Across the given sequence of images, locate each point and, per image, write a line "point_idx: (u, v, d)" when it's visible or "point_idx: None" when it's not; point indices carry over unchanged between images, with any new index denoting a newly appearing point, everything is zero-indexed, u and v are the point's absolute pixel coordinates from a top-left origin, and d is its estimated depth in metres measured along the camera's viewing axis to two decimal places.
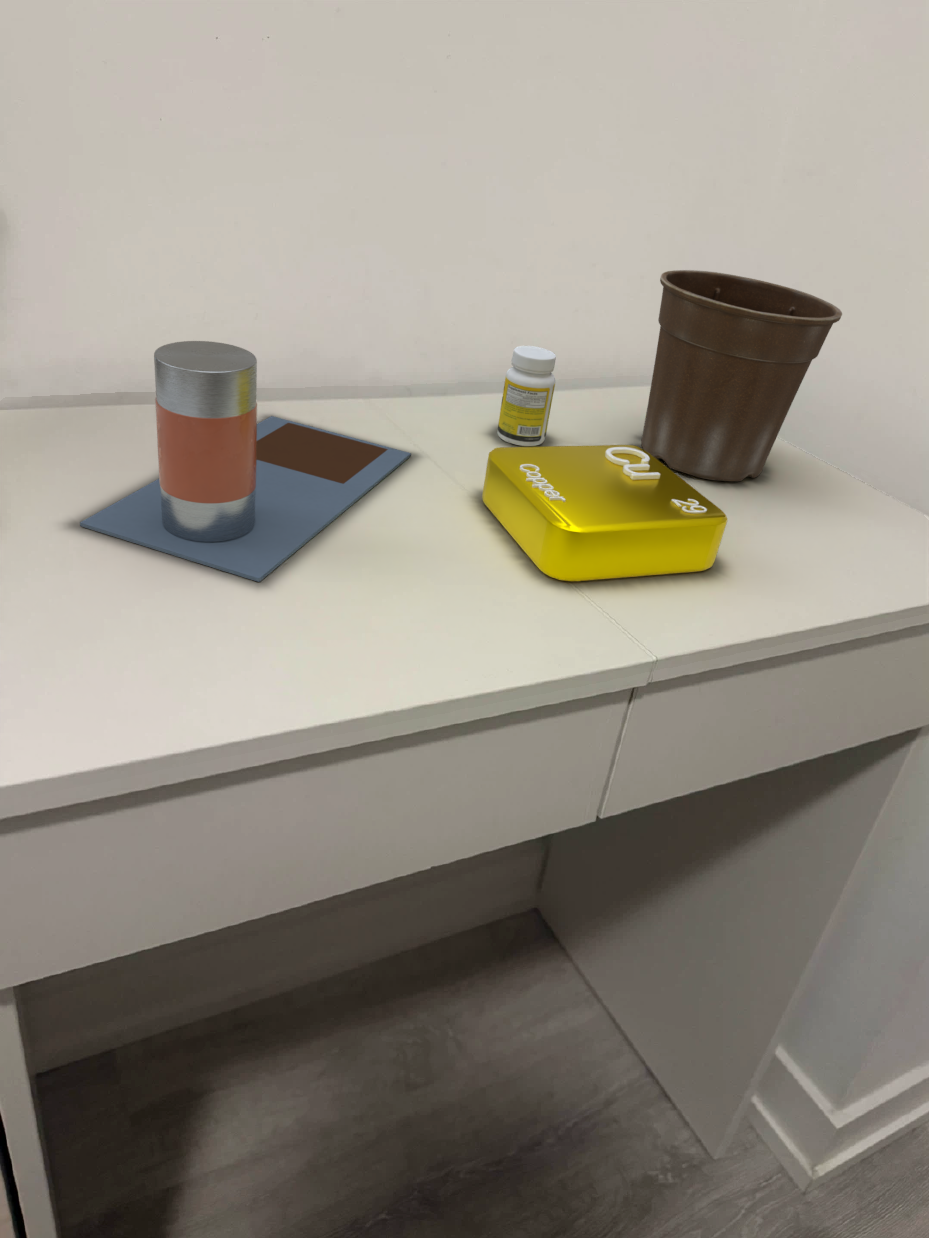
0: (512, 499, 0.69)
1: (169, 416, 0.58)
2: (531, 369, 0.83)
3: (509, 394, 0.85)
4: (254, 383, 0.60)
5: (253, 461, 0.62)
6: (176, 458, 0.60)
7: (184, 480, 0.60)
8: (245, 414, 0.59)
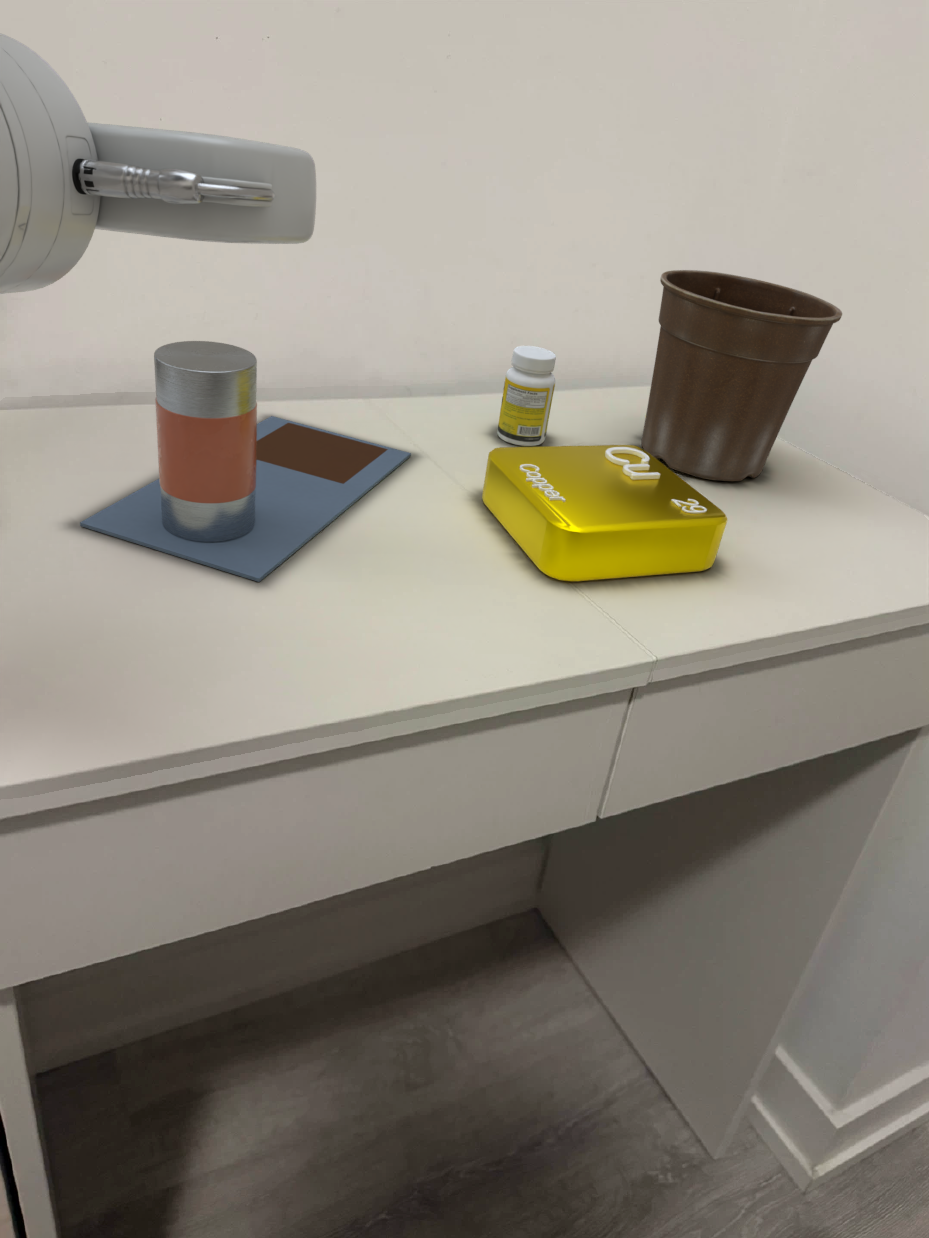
0: (512, 499, 0.69)
1: (169, 416, 0.58)
2: (531, 369, 0.83)
3: (509, 394, 0.85)
4: (254, 383, 0.60)
5: (253, 461, 0.62)
6: (176, 458, 0.60)
7: (184, 480, 0.60)
8: (245, 414, 0.59)
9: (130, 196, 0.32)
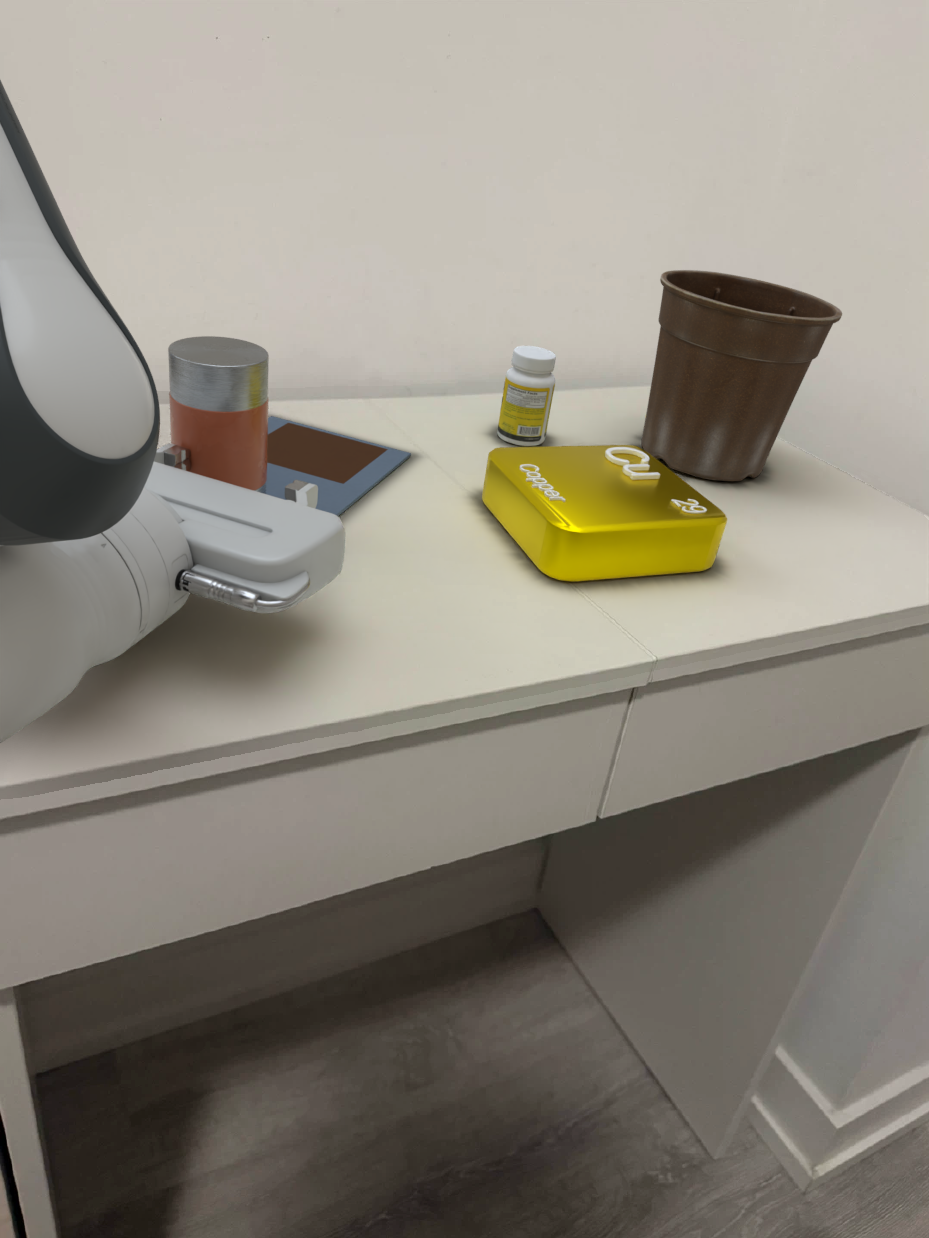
0: (512, 499, 0.69)
1: (183, 409, 0.59)
2: (531, 369, 0.83)
3: (509, 394, 0.85)
4: (266, 377, 0.61)
5: (264, 454, 0.63)
6: None
7: (197, 472, 0.61)
8: (257, 408, 0.61)
9: None
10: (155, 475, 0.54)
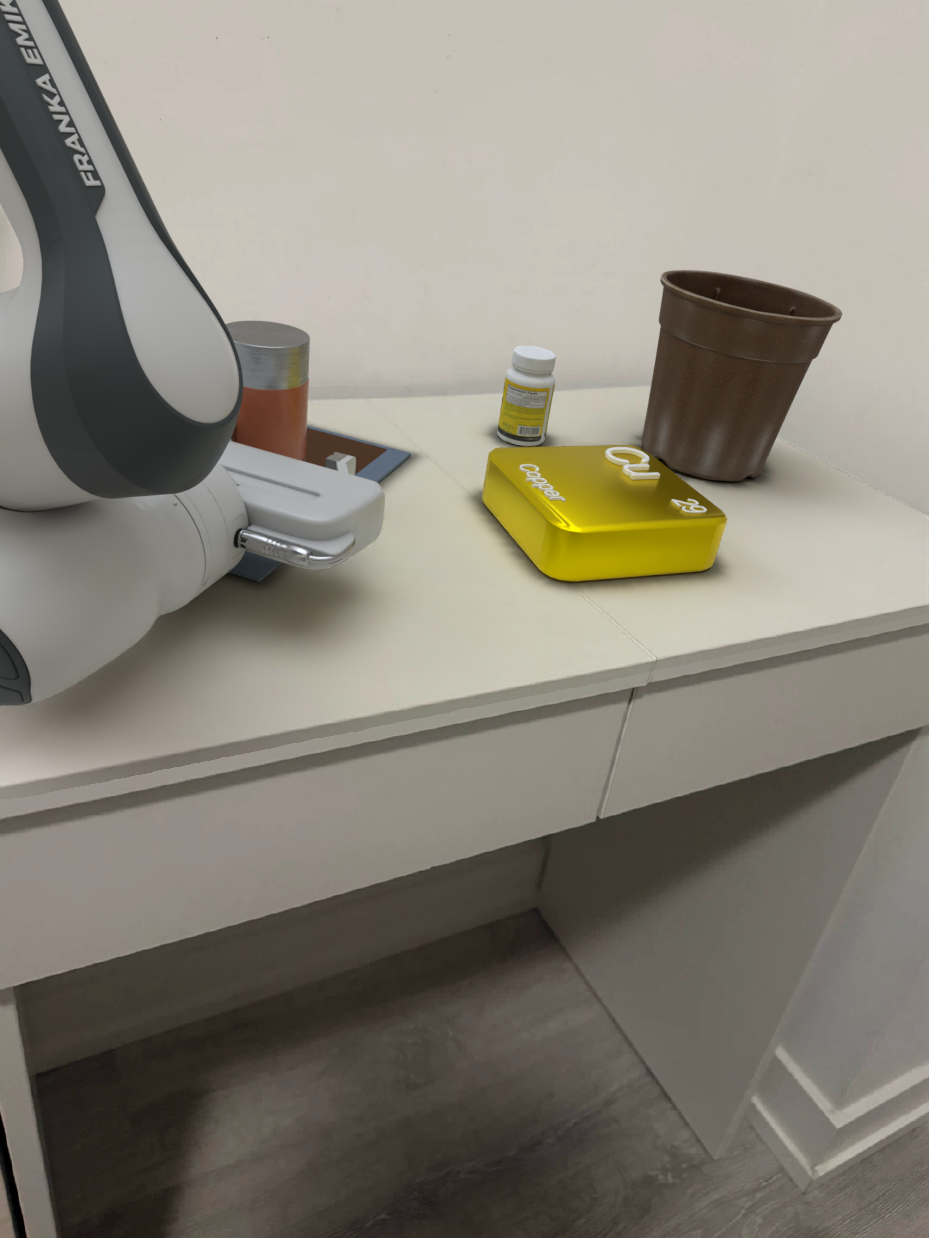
0: (512, 499, 0.69)
1: None
2: (531, 369, 0.83)
3: (509, 394, 0.85)
4: (307, 359, 0.65)
5: (304, 431, 0.68)
6: None
7: None
8: (299, 387, 0.65)
9: (267, 555, 0.52)
10: None
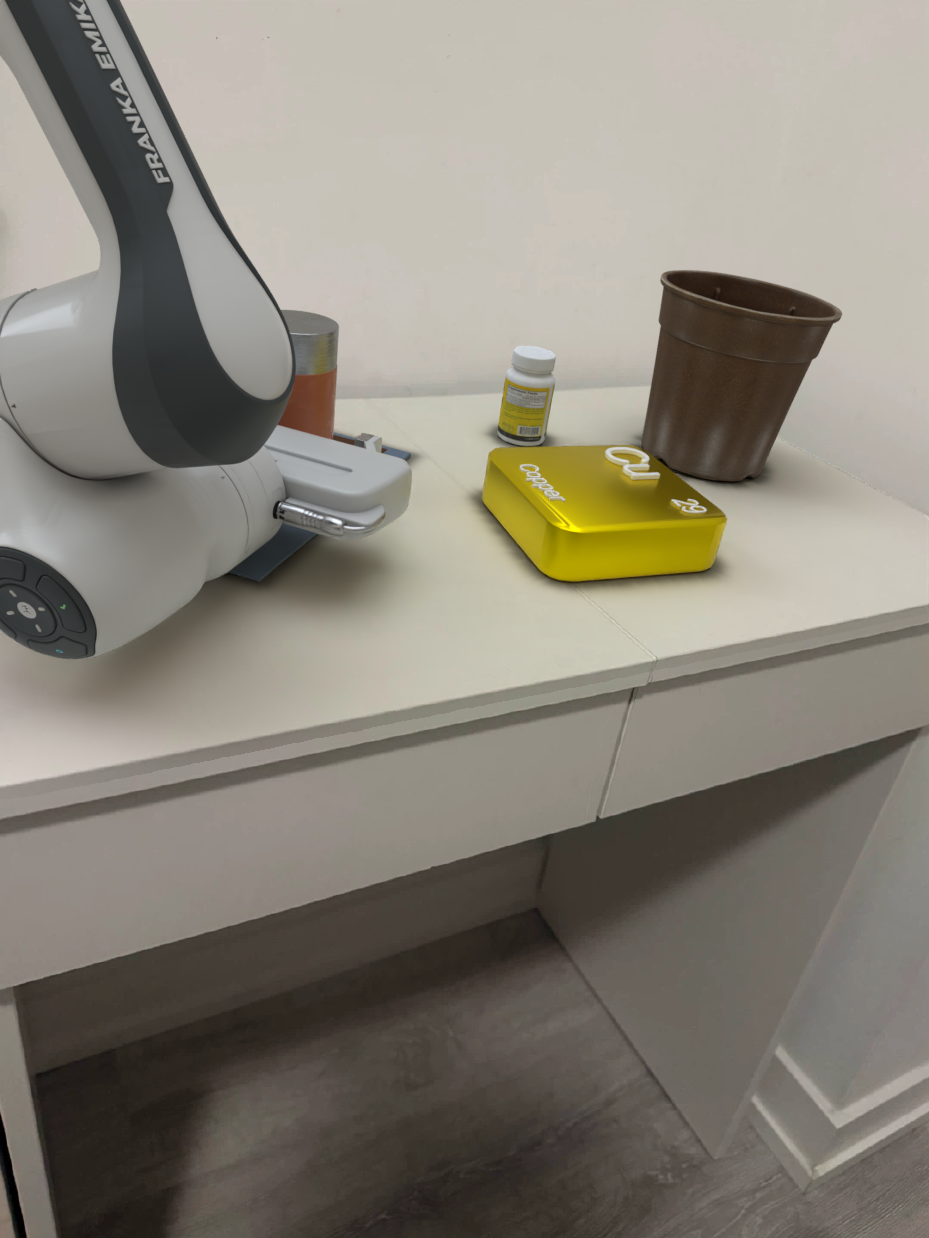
0: (512, 499, 0.69)
1: None
2: (531, 369, 0.83)
3: (509, 394, 0.85)
4: (336, 346, 0.69)
5: (332, 415, 0.71)
6: None
7: None
8: (328, 373, 0.69)
9: (304, 525, 0.56)
10: None
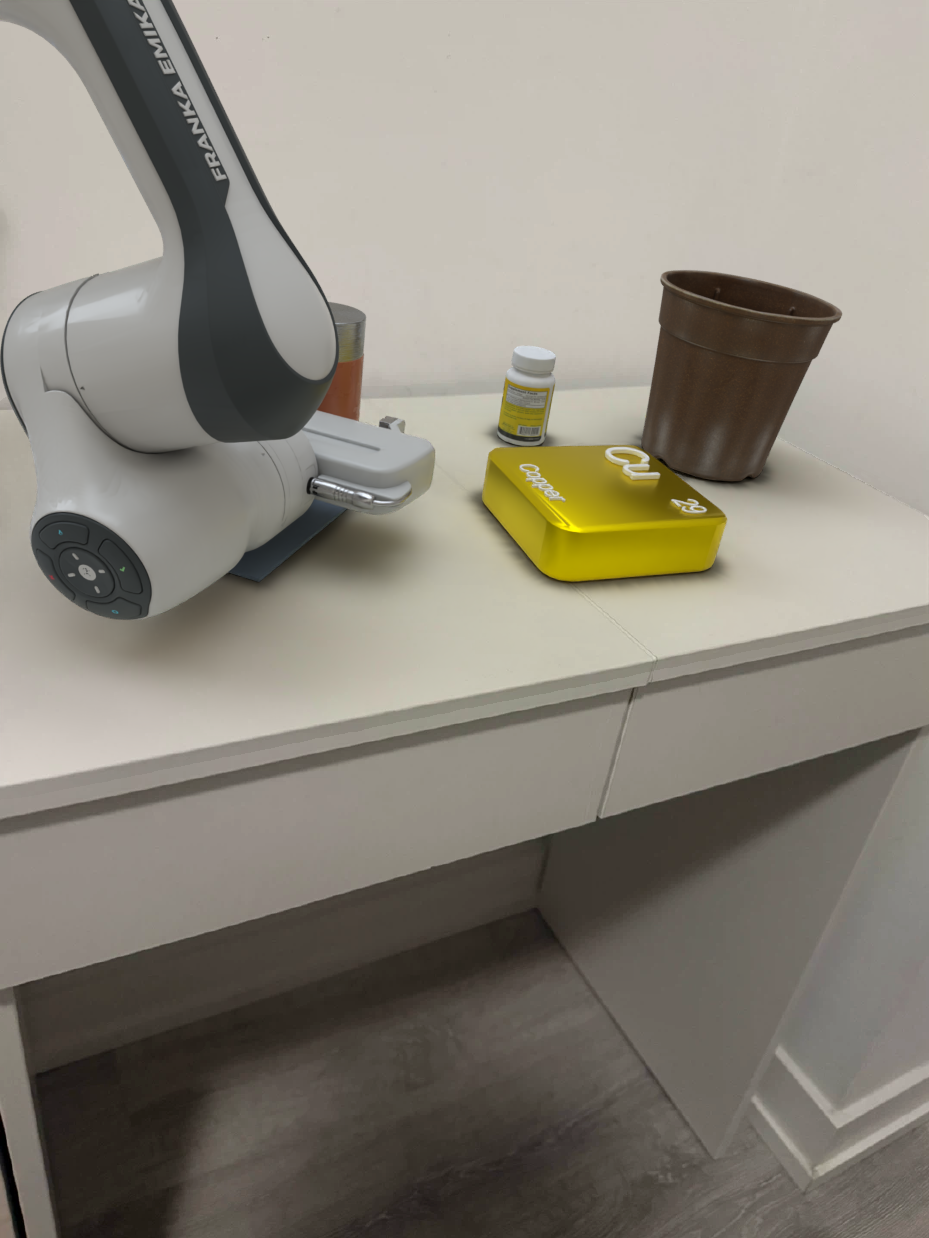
0: (512, 499, 0.69)
1: None
2: (531, 369, 0.83)
3: (509, 394, 0.85)
4: (363, 335, 0.72)
5: (358, 402, 0.75)
6: None
7: None
8: (355, 360, 0.72)
9: (335, 500, 0.59)
10: None
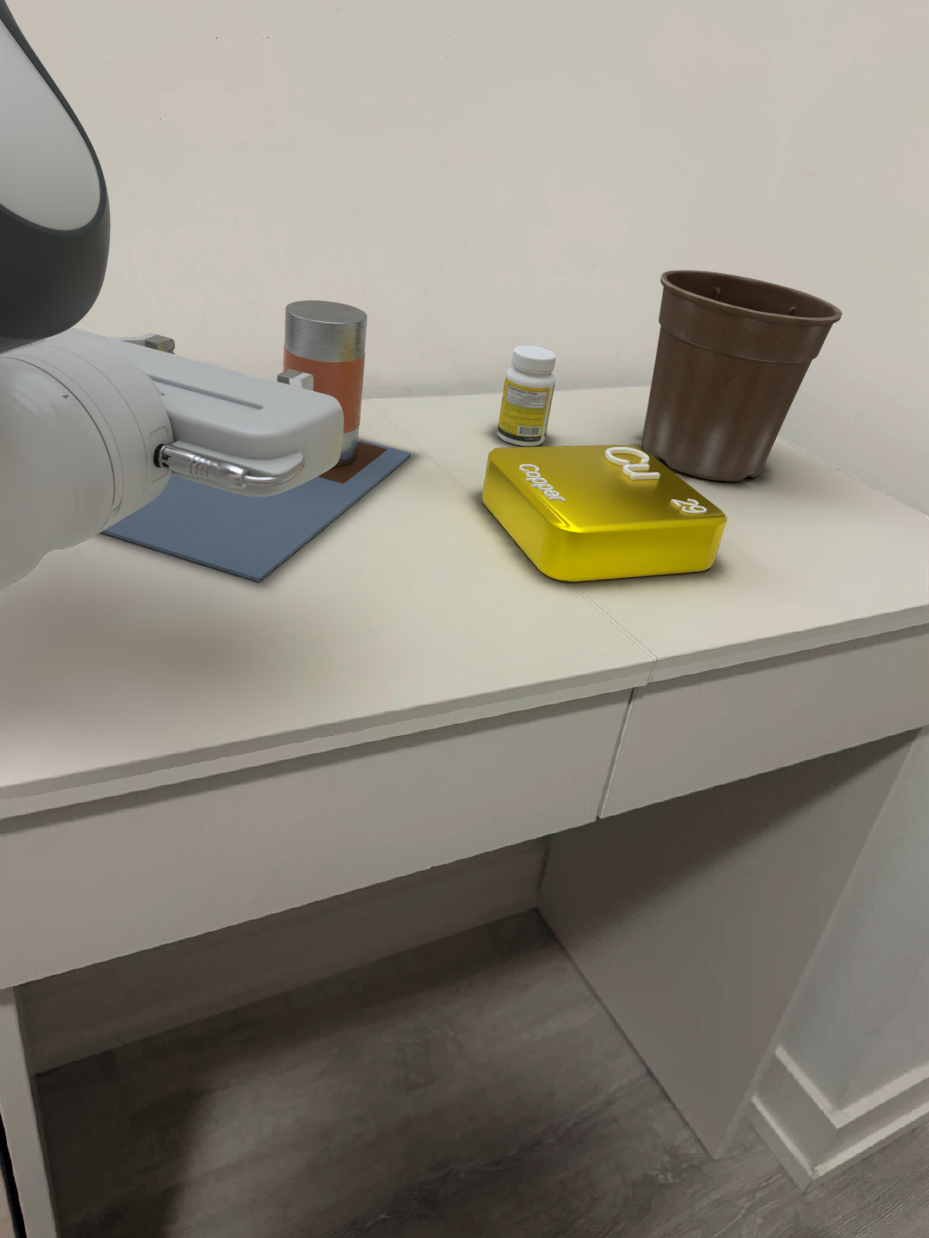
0: (512, 499, 0.69)
1: (296, 359, 0.71)
2: (531, 369, 0.83)
3: (509, 394, 0.85)
4: (364, 335, 0.72)
5: (359, 401, 0.75)
6: None
7: None
8: (356, 360, 0.72)
9: (194, 476, 0.43)
10: (134, 354, 0.49)
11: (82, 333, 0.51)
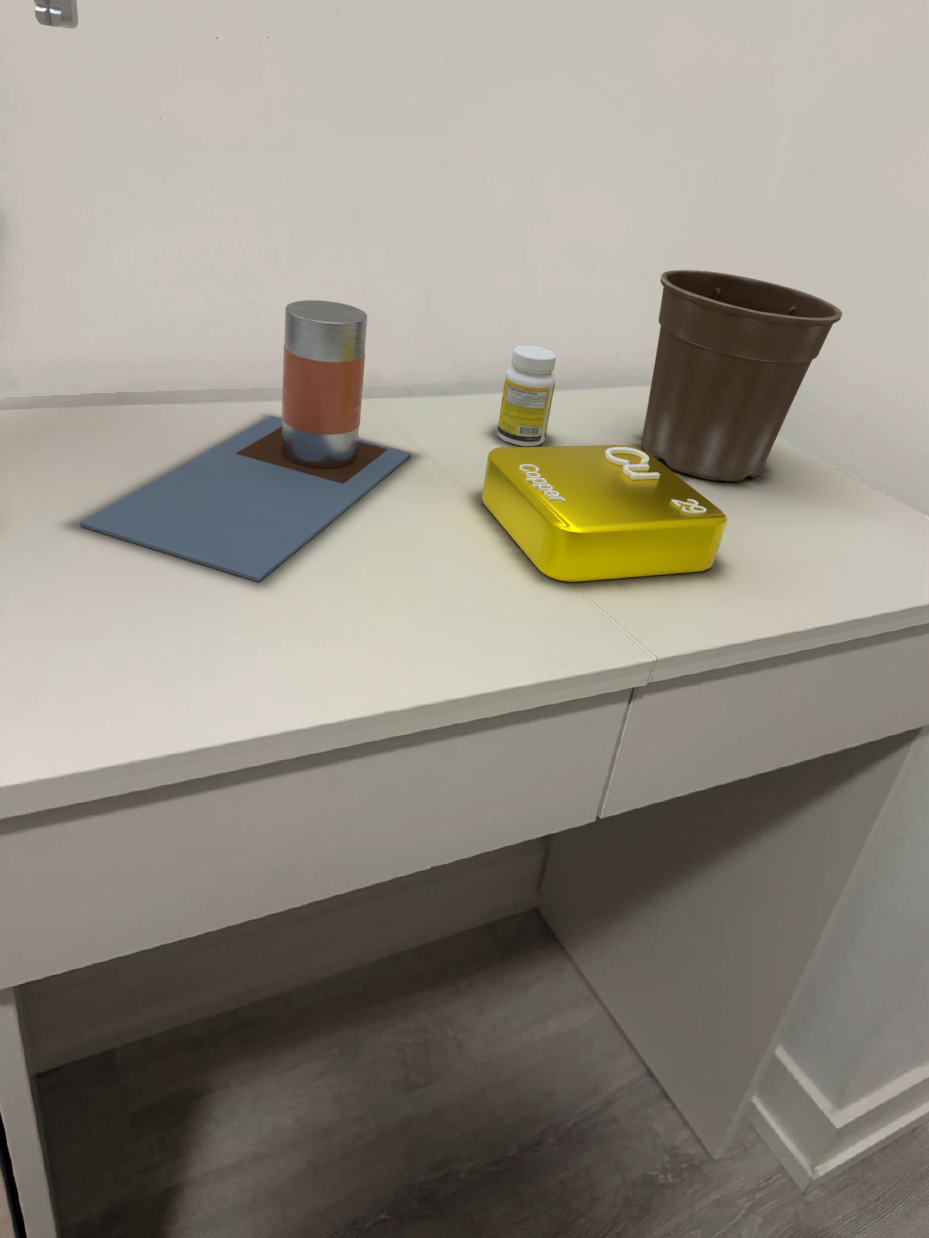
0: (512, 499, 0.69)
1: (296, 359, 0.71)
2: (531, 369, 0.83)
3: (509, 394, 0.85)
4: (364, 335, 0.72)
5: (359, 401, 0.75)
6: (299, 395, 0.72)
7: (304, 414, 0.73)
8: (356, 360, 0.72)
9: None
10: None
11: None
